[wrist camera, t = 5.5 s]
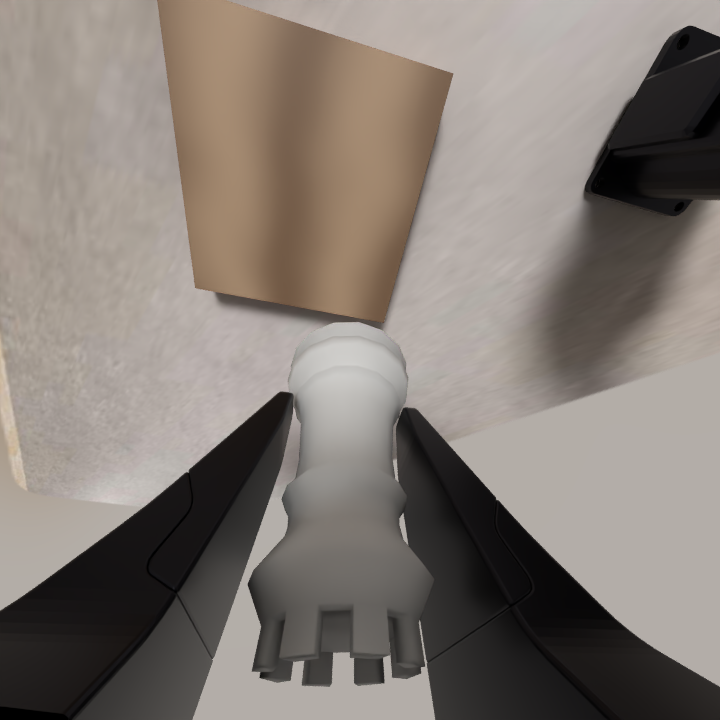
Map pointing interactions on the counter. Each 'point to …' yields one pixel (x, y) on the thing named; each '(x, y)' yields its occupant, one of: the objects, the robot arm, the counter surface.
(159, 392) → the counter surface
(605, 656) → the robot arm
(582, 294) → the counter surface
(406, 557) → the rook chess piece
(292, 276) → the walnut block
